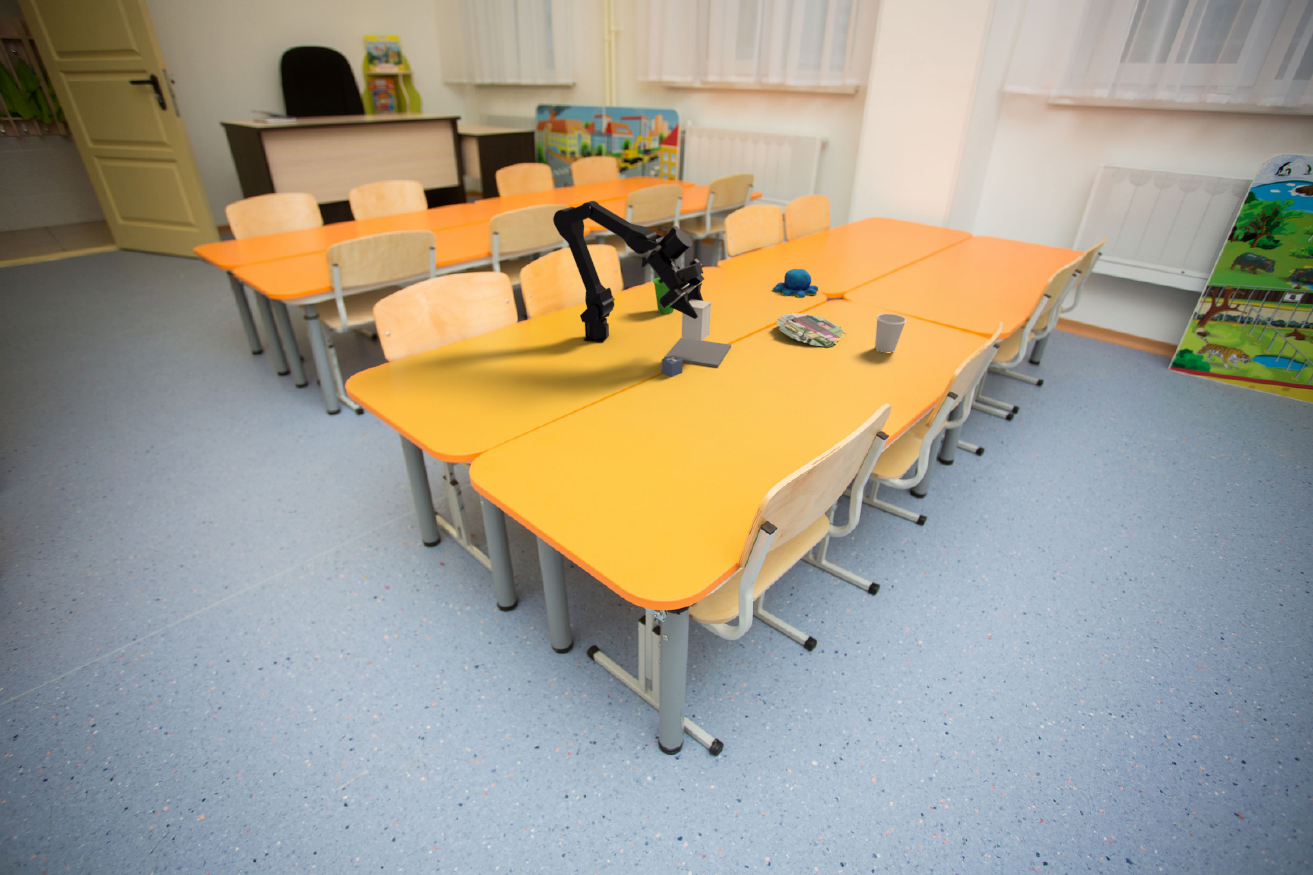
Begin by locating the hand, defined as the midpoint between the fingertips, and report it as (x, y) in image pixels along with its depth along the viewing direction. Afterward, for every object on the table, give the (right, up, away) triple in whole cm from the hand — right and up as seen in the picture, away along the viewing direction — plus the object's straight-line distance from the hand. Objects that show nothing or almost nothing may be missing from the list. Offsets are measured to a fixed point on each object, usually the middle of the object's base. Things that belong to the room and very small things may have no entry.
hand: (701, 314), depth 169 cm
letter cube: (-8, -16, -1) cm, 18 cm away
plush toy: (+41, +22, +65) cm, 80 cm away
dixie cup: (+57, -8, +15) cm, 59 cm away
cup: (-9, +9, +42) cm, 44 cm away
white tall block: (-1, -5, +4) cm, 7 cm away
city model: (+37, -2, +25) cm, 45 cm away
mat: (0, -9, +11) cm, 14 cm away
